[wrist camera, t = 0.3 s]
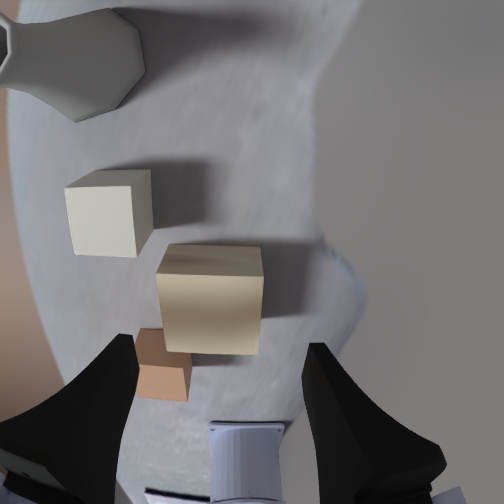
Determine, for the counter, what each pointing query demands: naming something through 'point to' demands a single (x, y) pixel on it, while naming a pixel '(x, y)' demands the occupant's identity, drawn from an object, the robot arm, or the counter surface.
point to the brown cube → (161, 368)
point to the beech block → (211, 298)
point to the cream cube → (110, 212)
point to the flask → (72, 61)
